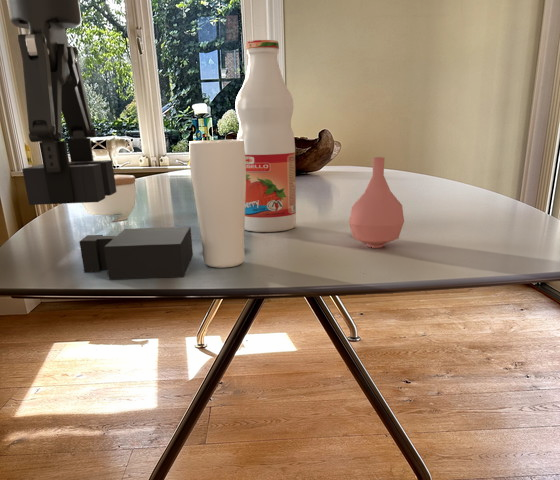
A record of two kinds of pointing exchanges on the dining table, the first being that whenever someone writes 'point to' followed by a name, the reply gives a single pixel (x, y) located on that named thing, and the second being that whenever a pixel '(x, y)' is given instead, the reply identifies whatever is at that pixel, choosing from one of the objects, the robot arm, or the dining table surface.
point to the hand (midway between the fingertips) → (75, 196)
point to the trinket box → (116, 199)
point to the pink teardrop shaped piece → (376, 211)
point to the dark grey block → (86, 182)
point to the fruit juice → (267, 141)
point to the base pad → (139, 253)
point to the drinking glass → (220, 199)
